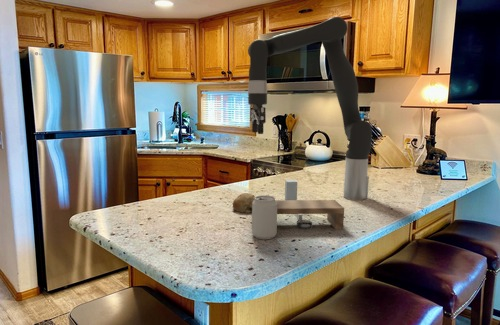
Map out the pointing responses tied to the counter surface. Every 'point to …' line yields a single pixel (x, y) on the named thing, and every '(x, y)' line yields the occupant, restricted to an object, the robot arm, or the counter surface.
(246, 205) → the bread roll
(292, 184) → the mallet tool
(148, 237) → the counter surface
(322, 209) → the riser
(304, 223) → the disc
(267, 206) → the can
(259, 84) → the robot arm
